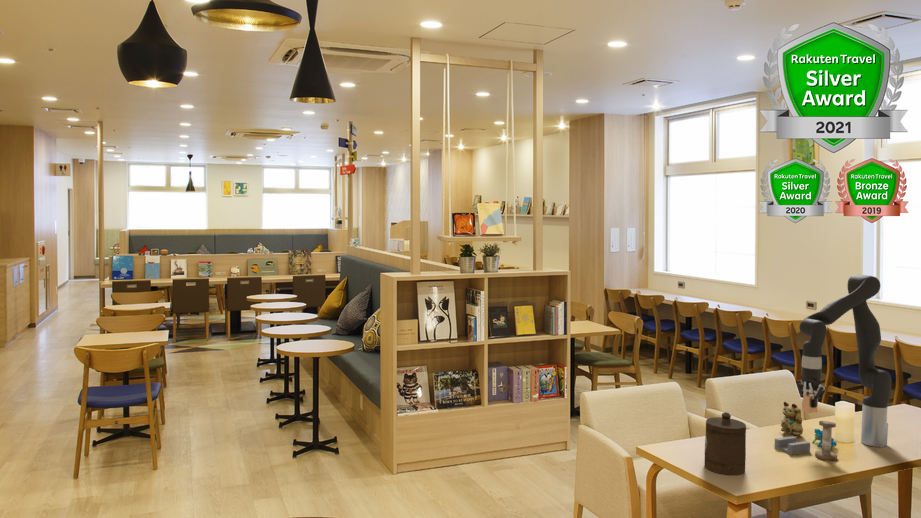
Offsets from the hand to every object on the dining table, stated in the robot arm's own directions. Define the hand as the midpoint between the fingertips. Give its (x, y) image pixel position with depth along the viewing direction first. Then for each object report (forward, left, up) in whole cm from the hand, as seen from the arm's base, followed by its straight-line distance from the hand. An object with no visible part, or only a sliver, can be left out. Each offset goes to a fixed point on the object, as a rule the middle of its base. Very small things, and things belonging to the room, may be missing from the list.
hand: (810, 406), depth 275 cm
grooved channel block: (+7, -2, -19) cm, 20 cm away
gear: (-11, -2, -19) cm, 22 cm away
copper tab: (0, 0, -2) cm, 2 cm away
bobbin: (+1, +9, -19) cm, 21 cm away
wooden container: (+50, +5, -19) cm, 54 cm away
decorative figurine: (-10, -18, -19) cm, 28 cm away
